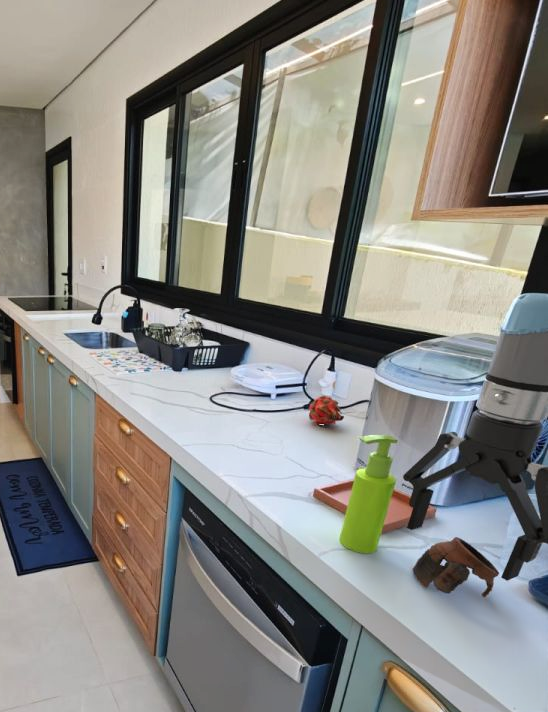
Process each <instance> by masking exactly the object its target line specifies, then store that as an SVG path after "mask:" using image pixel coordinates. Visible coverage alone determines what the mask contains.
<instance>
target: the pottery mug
mask: <svg viewBox="0 0 548 712" xmlns="http://www.w3.org/2000/svg"><path fill="white" fill-rule="evenodd" d="M443 561H445V563H444V565H442V562H443ZM470 570H471V571H470ZM412 572H413V576H414V577H415V578H416V580H417V581H418V582H419V583H420V584H421V585H422V586H423V587H424V588H425V589H427V588H429V586H430V585H431V583H433V586H434V587H435V589H436V590H437V591H439V592H441V593H444V594H447V595H448V594H451V593H452V592H455V590H456V589H457V587H458V586H461V585H463V583H464V582H466V581H468V578H469V576H470V575H471V574H472V575H474V576H476V577H478V578H479V579H481V580H484V581H485V585H486V588H485V590H484V591H483V592H482V593H481V597H482V598H487V596H488V595H489V594H490V593H491V592H492V591H493V588H494V580H495V578H496V577H498V576H499V575H500V572H499V570H498V569H497V568H496V566H495V565H494V564H493V563H492V562H491V561H490V560H489V559H488V558H487V557H486V556H484V555H483V554H482V553H481V552H480V551H478V550H477V549H476V548H475V547H474V546H473V545H471V544H470V543H468V542H467V541H465V540H464V539H462V538H460V537H457V536H454V538H453V539H452V540H450V541H449V540H448V541H440V542H436V543H434V544H433V545H431V546H430V548H427V549H426V550H425V551H424V553H423V554H421V556H420V557H419V558H418V559H417V561H416V562H415V564H414V566H413V567H412Z"/></svg>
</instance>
